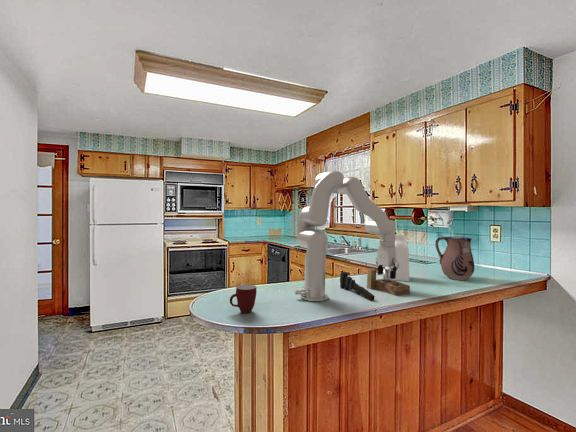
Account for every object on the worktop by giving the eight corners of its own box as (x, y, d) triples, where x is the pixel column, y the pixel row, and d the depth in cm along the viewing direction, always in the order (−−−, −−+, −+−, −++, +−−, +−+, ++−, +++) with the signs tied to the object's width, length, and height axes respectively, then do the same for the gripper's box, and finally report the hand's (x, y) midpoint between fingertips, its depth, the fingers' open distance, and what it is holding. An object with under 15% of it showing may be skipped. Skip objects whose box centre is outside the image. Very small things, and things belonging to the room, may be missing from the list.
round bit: (385, 289, 164) (386, 270, 164) (381, 288, 167) (381, 269, 167) (390, 288, 165) (391, 269, 165) (386, 287, 168) (386, 268, 168)
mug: (233, 317, 121) (233, 291, 120) (227, 311, 128) (227, 286, 127) (259, 313, 125) (259, 288, 125) (251, 307, 133) (252, 283, 132)
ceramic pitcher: (477, 283, 181) (479, 239, 180) (436, 280, 187) (438, 237, 186) (470, 276, 197) (471, 236, 196) (432, 274, 204) (434, 235, 203)
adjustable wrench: (368, 310, 145) (338, 286, 167) (372, 310, 146) (343, 286, 169) (370, 294, 143) (340, 271, 166) (375, 293, 144) (345, 271, 167)
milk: (404, 276, 195) (406, 234, 194) (409, 281, 184) (410, 236, 183) (384, 275, 197) (385, 233, 196) (387, 280, 186) (389, 235, 185)
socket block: (409, 293, 157) (409, 285, 157) (395, 295, 153) (395, 287, 153) (387, 285, 172) (388, 278, 172) (374, 287, 168) (374, 279, 168)
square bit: (370, 289, 164) (371, 270, 164) (367, 287, 167) (367, 268, 167) (375, 288, 165) (376, 269, 165) (372, 287, 168) (372, 268, 168)
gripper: (370, 242, 172) (370, 273, 173) (393, 246, 156) (392, 280, 157) (382, 241, 175) (381, 272, 175) (404, 245, 159) (403, 279, 160)
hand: (386, 276), depth 166 cm, fingers open, 9 cm apart
